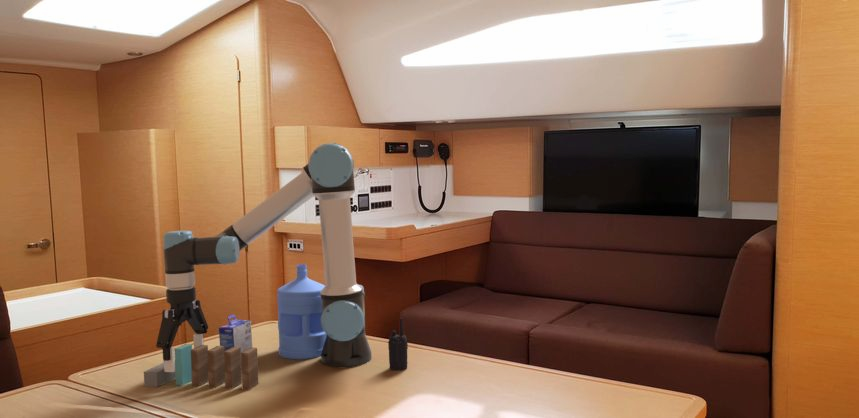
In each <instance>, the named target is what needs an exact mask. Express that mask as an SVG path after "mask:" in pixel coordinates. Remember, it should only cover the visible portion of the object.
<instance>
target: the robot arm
mask: <svg viewBox="0 0 859 418" xmlns="http://www.w3.org/2000/svg"><path fill="white" fill-rule="evenodd" d="M353 158H354V157H353V156H352V154H351V152H350V150H348V149H347V148H346V147H345V146H343V145H342V144H339V143H337V142H328V143H323V144H320V145H318V146H317V147H315V149H314V150H313V151H312V152H311V154H310V156H309V158H308V159H309V160H308V163H307V164H306V165H305V166H302V168H301V173H299V174H298V175H297V176H296V177H295V176H294V178H293V179H292V180H290V181H289V182H287V183H286V184H285V185H283V186H282V187H281V188H279V189H278V190H277V191H275V192H274V193H273V194H271V195H270V196H269V197H267V198H266V199H265V200H263V201H262V202H261V203H259V204H257V205H256V206H255V207H254V208H252V209H251V210H250V211H248V212H247V213H246V214H245V215H242V216H241V217H240V218H239V219H238V220H236V221H235V222H233V224H231V225H230V226H229V227H227V228H226V229H224V230H223V231H221V232H219V233H218V234H217V235H215V236H208V237H207V236H206V237H204V236H203V237H196V236H195V237H194V235H193V232H192V231H191V230H186V229H185V230H173V231H167V232H165V233H164V234H163V248H162V251H163V259H164V274H165V275H164V276H165V287H166V288H167V289H166V290H165V296H166V298H165V299H166V302H167V304H169V305H170V307H169V308H170V309H162V313H161V316H162V317H161V324H160V326H159V327H160V328H159V331H158V336H157V339H156V343H155V347H156V348H157V349H158V348H159V349H162V350H161V351H162V360H163V363H164V372H175V351H174V349H175V347H174V346H173V344H174V341H175V338H176V336H177V333H178V331H179V327H180V326H181V325H182V324H183V323H184V322H187V323H188V325H189V326H190V327H191V329H192V331H193V332H194V333H193V334H192V337H193V339H192V340H193V349H194V348H196V347H198V346H200V345H205V339H204V337H205V336H204V334H207V333H208V329H209V325H208V322H207V319H206V317H205V314H204V311H203V309H202V306H201V301H200V299H197V293H196V287H195V285H196V275H195V266H202V265H203V266H205V265H207V266H208V265H209V266H210V265H223V266H224V265H229V264H231V265H232V264H236V263H237V262H238V261H239V258H240V252H241V251H242V250H243V249H244V248H246V247H248V246H249V245H250V244H251V243H252V242H255V240H256V239H258V238H260V237H261V236H262V235H264V234H265V233H266V232H267V231H269V230H270V229H272V228H273V227H274V226H275V225H277V224H278V223H279V222H281V221H282V220H284V219H285V218H286V217H288V216H289V215H291V214H292V213H293V212H294V211H296V210H297V209H298V208H299V207H301V206H303V205H304V204H305V203H306V202H308V201H309V200H311V199H312V198H314V197H315V198H316V199H317V200H318V207H319V208H318V209H319V220H320V233H321V245H322V246H321V248H322V258H323V259H322V260H323V271H324V273H323V274H324V283H325V284H324V285H325V287H324V288H323V289H322V291H321V292H320V294H321V307H322V315H321V325H322V328H323V330H324V332H325V333H326V339H325V343H324V346H323V350H322V353H321V356H320V362H321V364H322V365H325V366H326V367H331V368H338V367H342V368H343V367H345V368H354V367H359V366H363V365H364V364H365V365H366V364H367V362H368V363H369V362H371V361H372V358H373V357H372V350H371V347H370V344H369V342H368V338H367V335H366V316H365V315H366V313H365V312H366V311H365V309H366V308H365V295H366V292H365V288H364V286H363V285H362V284H358V283H357V273H356V262H355V248H354V236H353V235H354V234H353V222H352V207H351V197H352V196H353V194H354V193H355V192H356V190H355V189H356V187H355V173H354V172H355V171H354V168H355V165H354V164H355V162H354V159H353ZM196 299H197V300H196ZM362 364H363V365H362ZM358 365H359V366H358ZM353 366H354V367H353ZM343 369H344V368H343Z"/></svg>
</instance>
